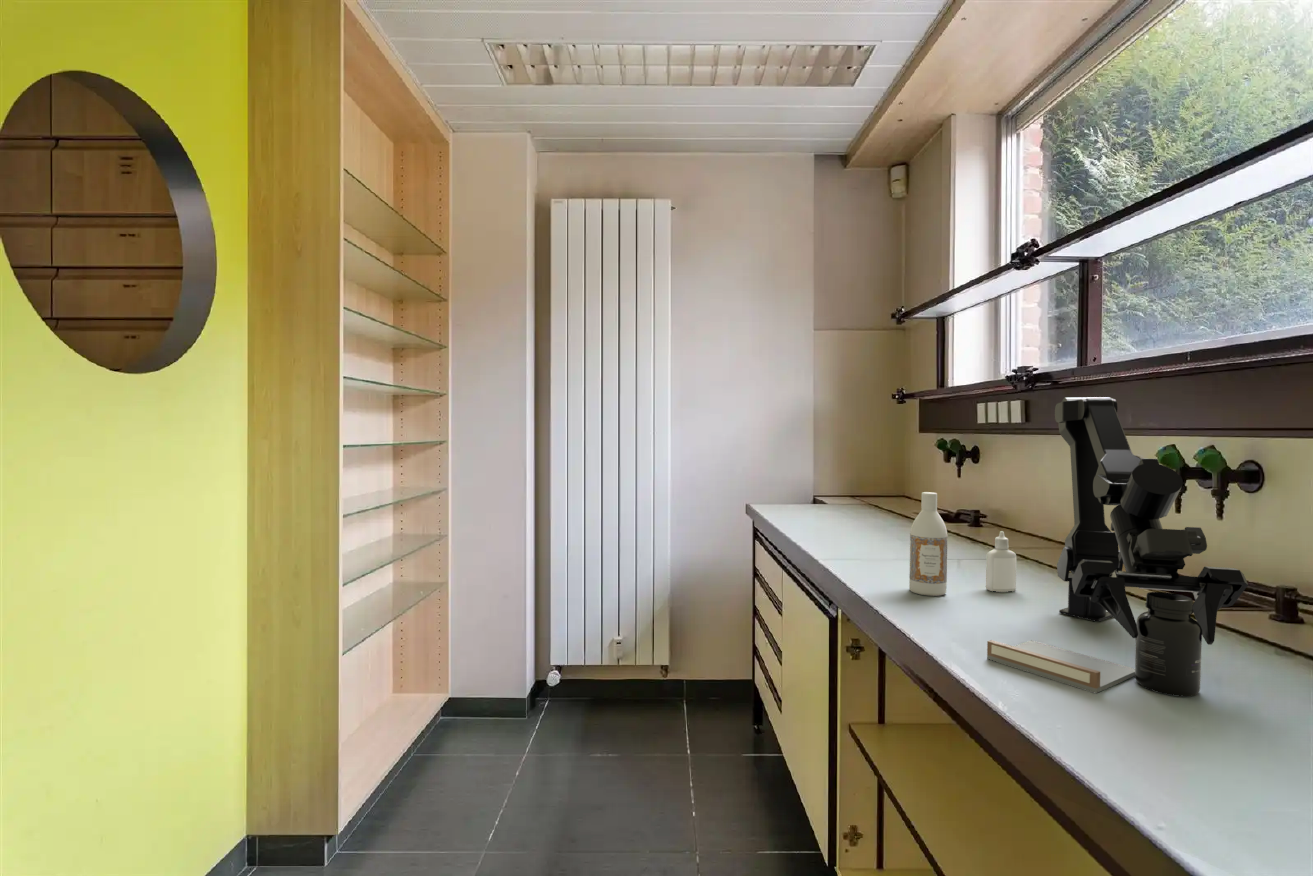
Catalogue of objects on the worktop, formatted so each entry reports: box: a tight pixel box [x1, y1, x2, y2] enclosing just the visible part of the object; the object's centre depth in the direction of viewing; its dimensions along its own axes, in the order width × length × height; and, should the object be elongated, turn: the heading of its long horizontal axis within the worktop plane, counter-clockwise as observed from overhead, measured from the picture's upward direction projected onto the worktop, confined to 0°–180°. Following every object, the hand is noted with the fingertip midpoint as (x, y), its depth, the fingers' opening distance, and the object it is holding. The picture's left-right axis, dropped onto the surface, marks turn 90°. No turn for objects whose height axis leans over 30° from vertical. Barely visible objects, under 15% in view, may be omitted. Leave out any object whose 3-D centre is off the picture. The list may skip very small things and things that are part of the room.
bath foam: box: [908, 491, 948, 597], centre depth 135 cm, size 7×7×20 cm
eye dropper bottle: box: [985, 530, 1017, 593], centre depth 137 cm, size 4×6×12 cm
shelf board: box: [986, 639, 1135, 694], centre depth 95 cm, size 12×14×3 cm
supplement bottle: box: [1134, 591, 1203, 697], centre depth 88 cm, size 7×7×12 cm
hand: (1172, 639), depth 87 cm, fingers open, 8 cm apart
